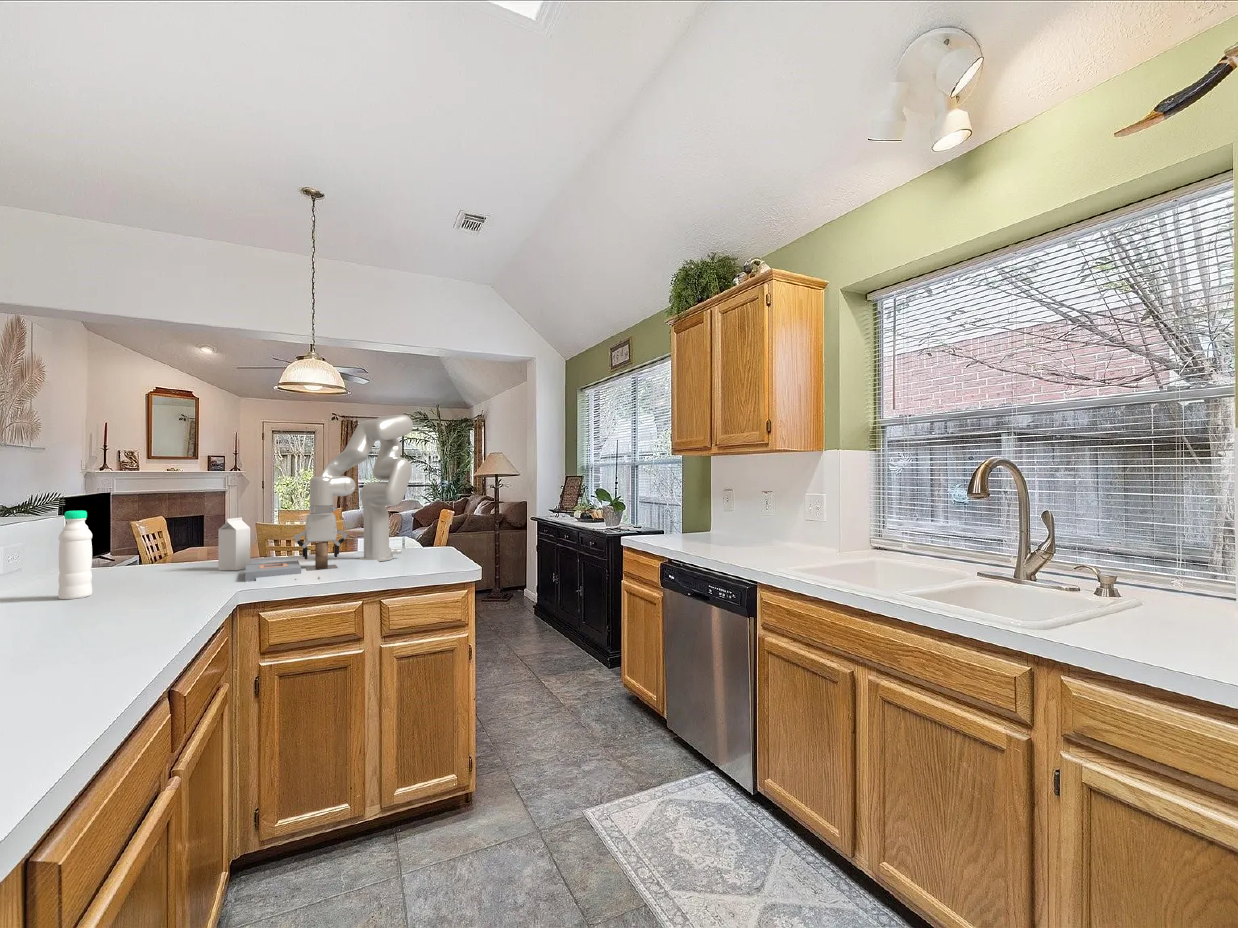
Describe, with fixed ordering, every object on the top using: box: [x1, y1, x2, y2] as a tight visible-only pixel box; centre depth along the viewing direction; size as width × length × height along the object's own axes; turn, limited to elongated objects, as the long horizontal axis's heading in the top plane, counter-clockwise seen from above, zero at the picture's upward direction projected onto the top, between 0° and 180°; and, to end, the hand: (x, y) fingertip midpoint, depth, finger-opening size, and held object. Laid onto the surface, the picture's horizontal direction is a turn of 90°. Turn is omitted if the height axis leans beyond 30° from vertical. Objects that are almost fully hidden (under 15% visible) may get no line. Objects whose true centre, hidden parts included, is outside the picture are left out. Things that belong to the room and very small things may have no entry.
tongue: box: [304, 564, 339, 572], centre depth 207 cm, size 10×10×1 cm
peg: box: [314, 541, 329, 568], centre depth 207 cm, size 4×4×9 cm
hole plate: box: [244, 560, 302, 582], centre depth 199 cm, size 16×20×3 cm
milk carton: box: [217, 517, 251, 571], centre depth 212 cm, size 7×7×19 cm
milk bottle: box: [57, 510, 93, 601], centre depth 164 cm, size 7×7×25 cm
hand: (321, 557), depth 207 cm, fingers open, 9 cm apart
